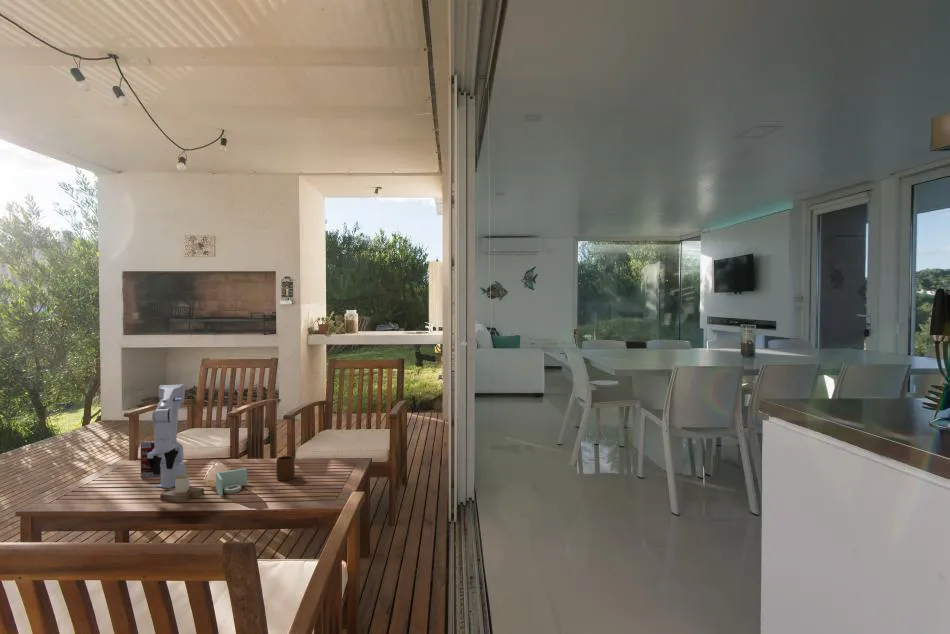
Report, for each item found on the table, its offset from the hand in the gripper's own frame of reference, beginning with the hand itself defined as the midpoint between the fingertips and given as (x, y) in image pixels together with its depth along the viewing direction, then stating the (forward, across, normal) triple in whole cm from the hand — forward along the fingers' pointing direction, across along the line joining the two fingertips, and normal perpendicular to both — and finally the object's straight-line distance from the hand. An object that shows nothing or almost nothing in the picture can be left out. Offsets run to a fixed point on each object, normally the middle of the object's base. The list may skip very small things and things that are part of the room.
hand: (163, 471), depth 214 cm
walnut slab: (+11, -1, +8) cm, 14 cm away
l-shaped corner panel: (+11, -11, +24) cm, 29 cm away
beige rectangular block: (+8, -1, +8) cm, 11 cm away
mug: (+11, -30, +38) cm, 50 cm away
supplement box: (+11, -27, -27) cm, 40 cm away
